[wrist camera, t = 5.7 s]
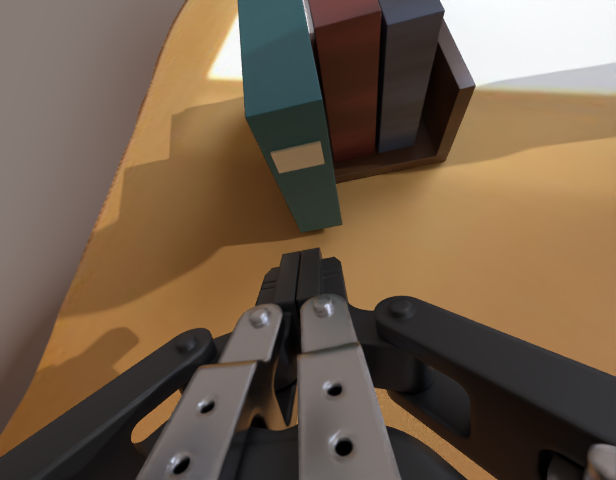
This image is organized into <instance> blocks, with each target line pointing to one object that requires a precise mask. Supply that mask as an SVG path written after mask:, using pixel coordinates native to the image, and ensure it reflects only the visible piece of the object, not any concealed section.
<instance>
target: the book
mask: <svg viewBox="0 0 616 480" xmlns="http://www.w3.org/2000/svg"><path fill="white" fill-rule="evenodd" d="M238 14H239V30H240V45H241V60H242V76H243V91H244V107H245V118H246V120H247V122H248V124H249V126H250V128H251V131H252V133H253V135H254V137H255V139H256V141H257V143H258V145H259V147H260V149H261V151H262V153H263V155H264V157H265V159H266V161H267V163H268V166H269V168H270V170H271V172H272V174H273V176H274V178H275V180H276V182H277V184H278V186H279V188H280V190H281V192H282V194H283V196H284V199H285V201H286V203H287V205H288V207H289V209H290V211H291V213H292V215H293V217H294V219H295V221H296V223H297V225H298V227H299V229H300V231H301V233H302V232H307V231H312V230H317V229H323V228H328V227H333V226H338V225H342V220H341V213H340V207H339V201H338V195H337V188H336V182H335V176H334V170H333V163H332V157H331V151H330V145H329V139H328V132H327V126H326V120H325V114H324V107H323V101H322V96H321V91H320V86H319V81H318V76H317V71H316V66H315V61H314V56H313V51H312V46H311V41H310V36H309V31H308V27H307V22H306V17H305V12H304V7H303V2H302V0H238Z"/></svg>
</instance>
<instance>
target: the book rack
mask: <svg viewBox="0 0 616 480" xmlns="http://www.w3.org/2000/svg"><path fill="white" fill-rule="evenodd" d="M304 1H305V7H306V13H307V19H308V25H309V31H310V33H309V36H310V41H311V46H312V51H313V56H314V61H315V66H316V71H317V76H318V81H319V86H320V91H321V96H322V101H323V107H324V114H325V120H326V126H327V132H328V139H329V145H330V151H331V157H332V163H333V170H334V176H335V182H336V183H339V182H344V181H349V180H354V179H359V178H364V177H368V176H373V175H378V174H383V173H388V172H392V171H397V170H402V169H407V168H412V167H417V166H421V165H426V164H431V163H436V162H441V161H445V160H446V158H447V156H448V153H449V151H450V149H451V146H452V144H453V141H454V139H455V136H456V134H457V131H458V129H459V126H460V124H461V121H462V119H463V116H464V114H465V111H466V109H467V106H468V104H469V101H470V99H471V96H472V94H473V91H474V89H475V86H476V85H475V83H474V81H473V79H472V77H471V75H470V73H469V70H468V68H467V66H466V64H465V62H464V60H463V58H462V56H461V54H460V52H459V50H458V48H457V46H456V44H455V41H454V39H453V37H452V35H451V33H450V31H449V29H448V27H447V25H446V23H445V21H444V19H443V16H444V12H445V10H444V8H443V6H442V4H441V2H440V0H304Z"/></svg>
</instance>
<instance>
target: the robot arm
mask: <svg viewBox="0 0 616 480" xmlns="http://www.w3.org/2000/svg"><path fill="white" fill-rule="evenodd" d="M374 388H380V389H386V390H387V393H388V395H389V397H390V398H391V399H392V400H393V401H394V402H395V403H397V404H398V405H399V406H401V407H402V408H403V409H405V410H406V411H407V412H409V413H410V414H411V415H413V416H414V417H415V418H417V419H418V420H419V421H421V422H422V423H423V424H425V425H426V426H427V427H429V428H430V429H431V430H433V431H434V432H435V433H437V434H438V435H439V436H441V437H442V438H443V439H445V440H446V441H447V442H449V443H450V444H451V445H452V446H454V447H455V448H456V449H458V450H459V451H460V452H462V453H463V454H464V455H466V456H467V457H468V458H470V459H471V460H472V461H474V462H475V463H476V464H478V465H479V466H480V467H482V468H483V469H484V470H486V471H487V472H488V473H490V474H491V475H492V476H494V477H495V478H496V479H498V480H616V377H615V376H613V375H610V374H608V373H605V372H602V371H600V370H597V369H595V368H592V367H590V366H587V365H585V364H582V363H580V362H577V361H574V360H572V359H569V358H567V357H564V356H562V355H559V354H557V353H554V352H552V351H549V350H546V349H544V348H541V347H539V346H536V345H534V344H531V343H529V342H526V341H524V340H521V339H519V338H516V337H513V336H511V335H508V334H506V333H503V332H501V331H498V330H496V329H493V328H491V327H488V326H485V325H483V324H480V323H478V322H475V321H473V320H470V319H468V318H465V317H463V316H460V315H457V314H455V313H452V312H450V311H447V310H445V309H442V308H440V307H437V306H435V305H432V304H429V303H427V302H424V301H422V300H419V299H417V298H414V297H409V296H394V297H390V298H387V299H384V300H382V301H381V302H380V303H378V304H377V306H376V307H375V309H374V311H369V310H361V309H358V308H355V307H353V306H352V305H350V304H349V303H348V297H347V292H346V287H345V282H344V277H343V271H342V266H341V262H340V261H339V260H338V259H337V258H335V257H330V258H325V259H322V254H321V250H320V248H314V249H308V250H303V251H302V252H301V251H298V252H292V253H287V254H283V255H282V259H281V263H280V267H276V268H272V269H271V270H270V271H269V272H268V273H267V274H266V275H265V277H264V280H263V284H262V286H261V291H260V292H259V295H258V298H257V301H256V305H255V307H253V308H251V309H249V310H247V311H246V312H245V313H243V314H242V315H241V317H240V318H239V320H238V322H237V324H236V326H235V328H234V330H233V332H230V333H228V334H225V335H223V336H220V337H217V338H215V339H213V338H212V335H211V333H210V331H209V330H207V329H205V328H196V329H191V330H188V331H186V332H183V333H181V334H180V335H178V336H176V337H175V338H173V339H172V340H170V341H169V342H168V343H166V344H165V345H163V346H162V347H160V348H159V349H157V350H156V351H154V352H153V353H152V354H150V355H149V356H147V357H146V358H144V359H143V360H141V361H140V362H138V363H137V364H136V365H134V366H133V367H131V368H130V369H128V370H127V371H125V372H124V373H122V374H121V375H120V376H118V377H117V378H115V379H114V380H112V381H111V382H109V383H108V384H106V385H105V386H104V387H102V388H101V389H99V390H98V391H96V392H95V393H93V394H92V395H90V396H89V397H87V398H86V399H85V400H83V401H82V402H80V403H79V404H77V405H76V406H74V407H73V408H71V409H70V410H69V411H67V412H66V413H64V414H63V415H61V416H60V417H58V418H57V419H55V420H54V421H53V422H51V423H50V424H48V425H47V426H45V427H44V428H42V429H41V430H39V431H38V432H37V433H35V434H34V435H32V436H31V437H29V438H28V439H26V440H25V441H23V442H22V443H21V444H19V445H18V446H16V447H15V448H13V449H12V450H10V451H9V452H7V453H6V454H5V455H3V456H2V457H0V480H467V479H466V478H465V477H464V476H463V475H462V474H461V473H459V472H458V471H457V470H456V469H455V468H454V467H452V466H451V465H450V464H449V463H448V462H447V461H445V460H444V459H443V458H442V457H441V456H440V455H438V454H437V453H436V452H435V451H434V450H432V449H431V448H430V447H429V446H427V445H426V444H424V443H423V442H421V441H420V440H418V439H417V438H415V437H413V436H411V435H409V434H407V433H405V432H403V431H400V430H398V429H395V428H392V427H388V426H385V423H384V420H383V416H382V413H381V410H380V406H379V403H378V400H377V397H376V393H375V390H374ZM178 389H179V391H180V393H181V395H182V396H181V398H180V400H179V402H178V404H177V406H176V407H175V409H174V411H173V413H172V415H171V416H170V418H169V419H168V420H167V421H166V422H165V423H164V424H162V425H161V426H160V427H159V428H158V429H157V430H156V431H154V432H153V433H152V434H151V435H150V436H149V437H147V438H146V439H145V440H143V441H142V442H139V443H132V441H131V434H132V431H133V429H134V427H135V426H136V424H137V423H138V422H139V421H140V420H141V419H142V418H144V417H145V416H146V415H147V414H148V413H150V412H151V411H152V410H153V409H155V408H156V407H157V406H158V405H159V404H161V403H162V402H163V401H164V400H166V399H167V398H168V397H169V396H170V395H172V394H173V393H174V392H175V391H177V390H178ZM297 416H298V424H297V425H296V423H297Z"/></svg>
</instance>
